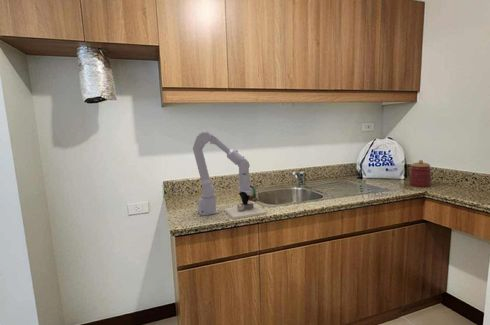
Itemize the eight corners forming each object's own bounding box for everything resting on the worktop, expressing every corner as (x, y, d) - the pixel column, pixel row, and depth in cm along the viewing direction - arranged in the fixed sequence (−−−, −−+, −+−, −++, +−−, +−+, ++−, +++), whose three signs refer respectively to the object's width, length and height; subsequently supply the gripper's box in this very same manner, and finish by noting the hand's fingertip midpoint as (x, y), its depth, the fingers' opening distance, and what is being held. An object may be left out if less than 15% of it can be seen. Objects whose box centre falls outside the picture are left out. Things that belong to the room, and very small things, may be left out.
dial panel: (233, 219, 135) (233, 217, 135) (224, 210, 150) (224, 208, 150) (266, 214, 141) (266, 211, 141) (254, 206, 156) (254, 204, 156)
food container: (261, 199, 169) (261, 184, 168) (254, 202, 165) (254, 185, 164) (247, 196, 178) (247, 181, 177) (240, 198, 174) (240, 183, 172)
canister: (431, 188, 181) (432, 161, 178) (408, 186, 187) (409, 161, 185) (430, 184, 192) (431, 159, 189) (409, 182, 198) (409, 158, 196)
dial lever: (238, 211, 142) (238, 205, 142) (236, 209, 146) (236, 204, 145) (254, 209, 145) (254, 203, 145) (251, 207, 149) (251, 201, 148)
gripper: (256, 182, 142) (257, 207, 144) (246, 178, 156) (247, 201, 158) (243, 184, 140) (244, 209, 142) (234, 179, 153) (235, 202, 155)
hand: (245, 205), depth 150 cm, fingers closed
